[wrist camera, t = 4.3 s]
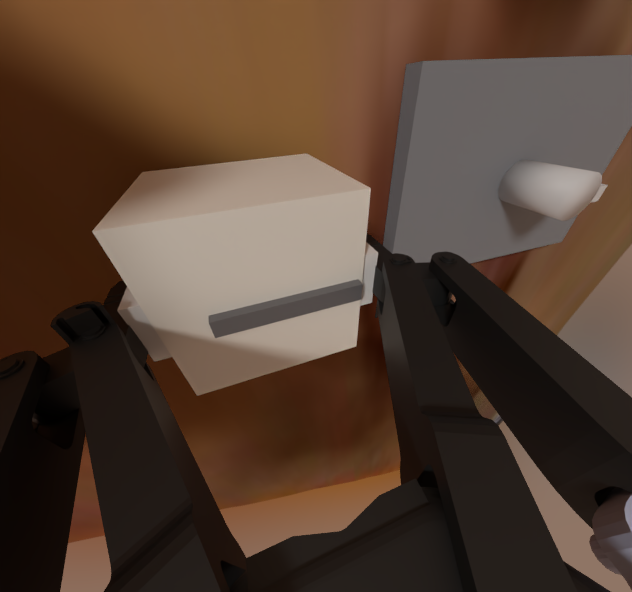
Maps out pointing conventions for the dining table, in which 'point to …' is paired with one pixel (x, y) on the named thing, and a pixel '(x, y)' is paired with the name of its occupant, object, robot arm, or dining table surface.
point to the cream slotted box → (243, 263)
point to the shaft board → (502, 151)
